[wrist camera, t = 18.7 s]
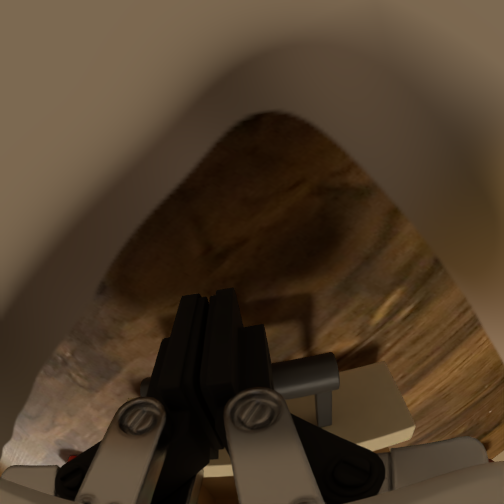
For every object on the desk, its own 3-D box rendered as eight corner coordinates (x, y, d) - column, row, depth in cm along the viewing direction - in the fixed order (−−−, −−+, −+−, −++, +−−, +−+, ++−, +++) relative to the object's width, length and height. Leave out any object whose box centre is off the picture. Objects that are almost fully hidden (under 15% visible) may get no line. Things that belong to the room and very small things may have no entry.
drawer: (95, 343, 13) (61, 411, 9) (390, 295, 12) (437, 362, 8) (201, 491, 20) (199, 534, 16) (363, 469, 19) (375, 511, 15)
